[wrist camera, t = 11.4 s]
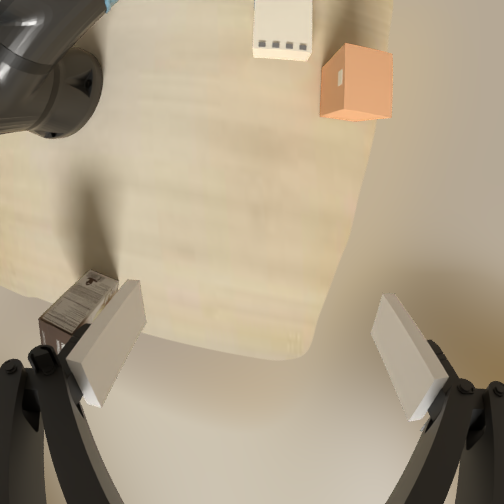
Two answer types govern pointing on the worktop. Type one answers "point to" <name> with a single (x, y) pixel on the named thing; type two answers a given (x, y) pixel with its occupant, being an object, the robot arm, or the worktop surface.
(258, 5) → the white button box
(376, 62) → the brown box
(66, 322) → the coffee box
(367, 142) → the worktop surface
